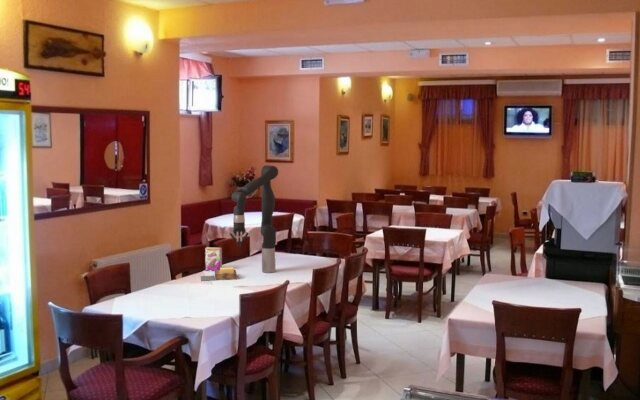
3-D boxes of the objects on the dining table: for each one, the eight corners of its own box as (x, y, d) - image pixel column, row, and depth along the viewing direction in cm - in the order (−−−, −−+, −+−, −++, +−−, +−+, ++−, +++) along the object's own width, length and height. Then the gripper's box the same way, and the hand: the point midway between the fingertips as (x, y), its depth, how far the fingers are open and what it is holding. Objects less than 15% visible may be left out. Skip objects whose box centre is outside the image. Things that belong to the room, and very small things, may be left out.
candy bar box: (205, 271, 447) (204, 248, 446) (207, 269, 452) (206, 247, 451) (220, 271, 446) (220, 248, 445) (222, 269, 451) (221, 247, 450)
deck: (235, 275, 433) (235, 269, 433) (236, 279, 420) (236, 273, 420) (214, 276, 430) (214, 270, 430) (215, 280, 418) (215, 274, 417)
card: (233, 270, 429) (233, 267, 429) (233, 272, 423) (233, 269, 423) (220, 271, 427) (220, 267, 427) (220, 273, 421) (220, 269, 421)
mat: (213, 276, 431) (213, 275, 431) (214, 280, 417) (214, 280, 417) (200, 276, 429) (200, 276, 429) (201, 281, 415) (201, 280, 415)
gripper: (248, 220, 429) (248, 245, 430) (228, 220, 426) (228, 246, 428) (249, 221, 421) (249, 247, 423) (229, 222, 419) (229, 248, 420)
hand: (239, 246), depth 425 cm, fingers closed
